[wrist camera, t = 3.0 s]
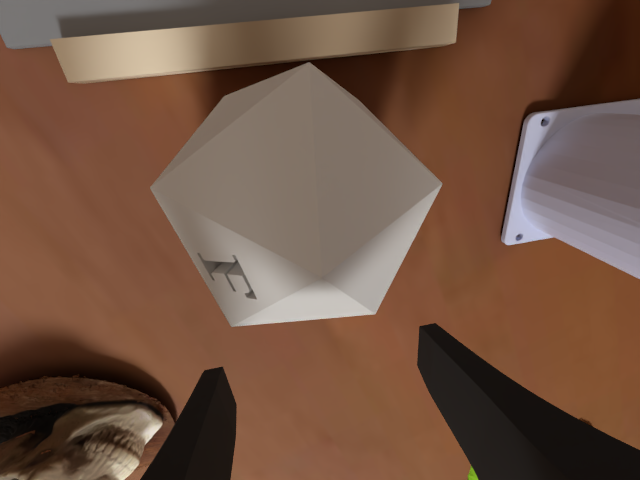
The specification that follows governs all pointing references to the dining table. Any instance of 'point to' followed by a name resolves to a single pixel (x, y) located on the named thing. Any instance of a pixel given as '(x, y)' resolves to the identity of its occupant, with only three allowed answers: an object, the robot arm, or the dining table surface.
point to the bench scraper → (166, 15)
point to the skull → (78, 429)
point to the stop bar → (254, 43)
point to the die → (295, 201)
